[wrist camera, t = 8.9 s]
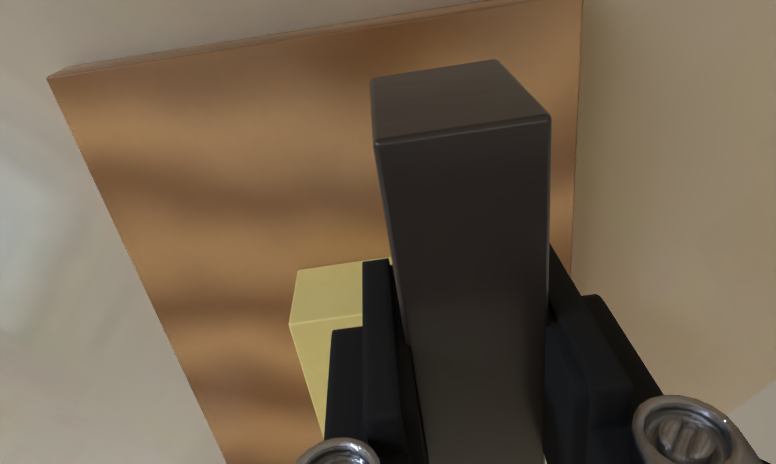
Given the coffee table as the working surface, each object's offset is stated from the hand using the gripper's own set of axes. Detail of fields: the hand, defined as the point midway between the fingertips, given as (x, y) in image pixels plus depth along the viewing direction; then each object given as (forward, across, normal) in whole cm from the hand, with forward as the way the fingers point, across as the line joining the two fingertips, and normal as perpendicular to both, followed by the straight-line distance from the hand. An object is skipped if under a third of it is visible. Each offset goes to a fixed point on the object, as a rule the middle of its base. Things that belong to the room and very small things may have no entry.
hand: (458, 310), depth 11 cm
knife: (+1, 0, +5) cm, 5 cm away
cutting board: (+11, +3, +7) cm, 14 cm away
